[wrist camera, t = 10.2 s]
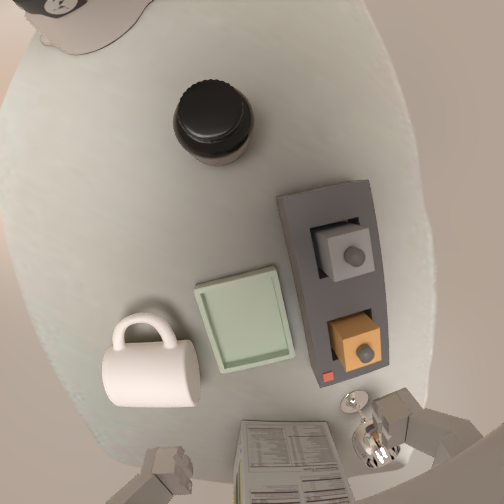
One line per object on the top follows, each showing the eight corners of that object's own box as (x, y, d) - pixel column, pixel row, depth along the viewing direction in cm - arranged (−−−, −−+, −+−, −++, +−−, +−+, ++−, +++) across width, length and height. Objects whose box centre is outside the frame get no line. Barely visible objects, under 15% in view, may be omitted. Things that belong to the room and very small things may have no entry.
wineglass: (329, 403, 39) (353, 461, 27) (362, 380, 38) (395, 434, 26) (347, 421, 40) (371, 475, 28) (377, 400, 39) (409, 451, 27)
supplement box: (240, 418, 38) (243, 518, 21) (327, 419, 39) (361, 508, 22) (231, 469, 41) (232, 553, 24) (307, 470, 42) (326, 547, 25)
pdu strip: (275, 197, 33) (282, 197, 28) (351, 181, 33) (369, 179, 28) (311, 366, 37) (320, 389, 32) (374, 346, 37) (390, 365, 32)
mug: (203, 381, 37) (197, 420, 29) (134, 383, 37) (116, 418, 29) (185, 297, 35) (171, 325, 27) (110, 304, 34) (82, 330, 27)
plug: (323, 312, 34) (346, 345, 26) (355, 303, 34) (384, 332, 26) (328, 341, 35) (349, 378, 27) (358, 332, 35) (385, 365, 27)
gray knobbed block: (308, 228, 32) (331, 240, 24) (342, 220, 32) (374, 229, 24) (315, 264, 33) (339, 286, 25) (348, 255, 33) (380, 274, 25)
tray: (195, 284, 34) (193, 289, 32) (274, 265, 34) (276, 269, 32) (221, 365, 36) (221, 373, 34) (292, 349, 36) (295, 357, 34)
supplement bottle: (185, 166, 32) (157, 152, 20) (189, 107, 30) (166, 67, 19) (248, 168, 32) (254, 154, 20) (251, 109, 31) (259, 67, 19)
